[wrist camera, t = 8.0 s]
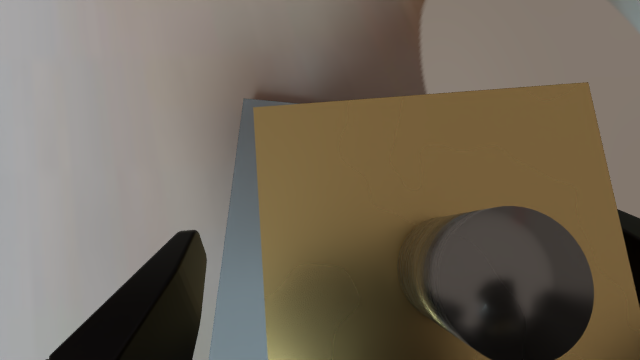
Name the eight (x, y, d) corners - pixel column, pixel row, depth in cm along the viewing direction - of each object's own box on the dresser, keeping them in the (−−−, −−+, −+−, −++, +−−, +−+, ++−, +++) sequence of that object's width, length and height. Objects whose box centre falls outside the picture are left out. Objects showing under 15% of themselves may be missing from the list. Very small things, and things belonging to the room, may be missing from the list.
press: (459, 404, 17) (593, 555, 9) (213, 383, 17) (122, 514, 9) (464, 129, 19) (574, 50, 11) (249, 109, 19) (203, 15, 11)
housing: (410, 297, 16) (877, 574, 3) (303, 307, 16) (253, 654, 3) (396, 191, 17) (708, 14, 4) (294, 199, 17) (226, 47, 3)
